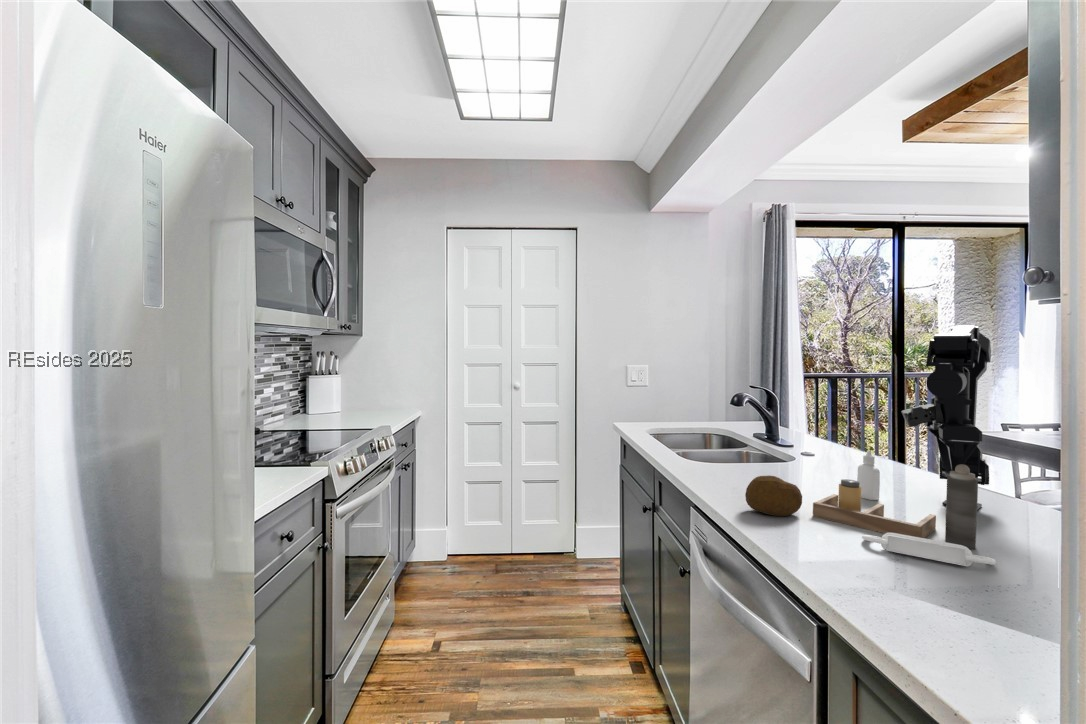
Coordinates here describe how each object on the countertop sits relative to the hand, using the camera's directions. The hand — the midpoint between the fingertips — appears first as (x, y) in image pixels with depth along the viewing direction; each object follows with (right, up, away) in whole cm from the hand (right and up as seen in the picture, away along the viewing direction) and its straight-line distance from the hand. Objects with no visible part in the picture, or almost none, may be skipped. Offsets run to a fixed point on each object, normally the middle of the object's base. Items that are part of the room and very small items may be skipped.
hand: (949, 466), depth 110 cm
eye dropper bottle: (-4, -13, +22) cm, 26 cm away
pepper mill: (-6, -13, -10) cm, 17 cm away
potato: (-34, -13, +8) cm, 37 cm away
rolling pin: (-16, -14, -14) cm, 25 cm away
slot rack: (-14, -13, +3) cm, 19 cm away
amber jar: (-17, -13, +7) cm, 22 cm away
